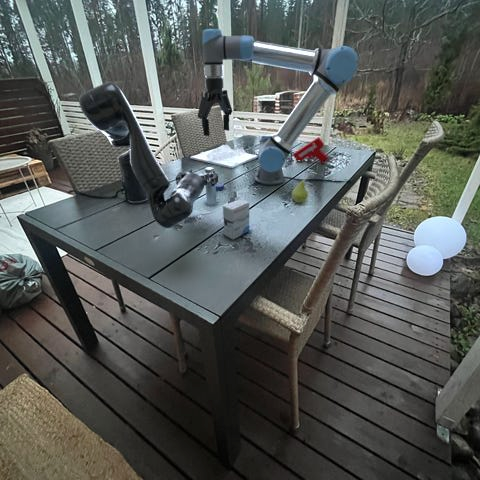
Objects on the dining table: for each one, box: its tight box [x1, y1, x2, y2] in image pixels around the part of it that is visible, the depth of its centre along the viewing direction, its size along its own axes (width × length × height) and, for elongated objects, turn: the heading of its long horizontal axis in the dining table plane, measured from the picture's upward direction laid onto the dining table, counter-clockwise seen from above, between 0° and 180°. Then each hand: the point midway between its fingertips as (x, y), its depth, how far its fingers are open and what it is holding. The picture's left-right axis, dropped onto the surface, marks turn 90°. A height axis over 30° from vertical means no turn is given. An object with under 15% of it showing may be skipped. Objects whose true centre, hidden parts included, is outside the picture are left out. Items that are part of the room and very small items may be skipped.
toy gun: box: [293, 136, 329, 165], centre depth 169 cm, size 18×4×15 cm
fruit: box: [291, 174, 311, 204], centre depth 118 cm, size 7×8×12 cm
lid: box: [216, 182, 225, 191], centre depth 135 cm, size 5×5×2 cm
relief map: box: [190, 144, 259, 169], centre depth 178 cm, size 27×35×5 cm
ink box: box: [222, 198, 250, 240], centre depth 96 cm, size 8×5×12 cm, turn 134°
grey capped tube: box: [203, 166, 218, 206], centre depth 117 cm, size 4×4×16 cm
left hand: (202, 172), depth 101 cm, fingers open, 8 cm apart
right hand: (216, 132), depth 121 cm, fingers open, 13 cm apart
